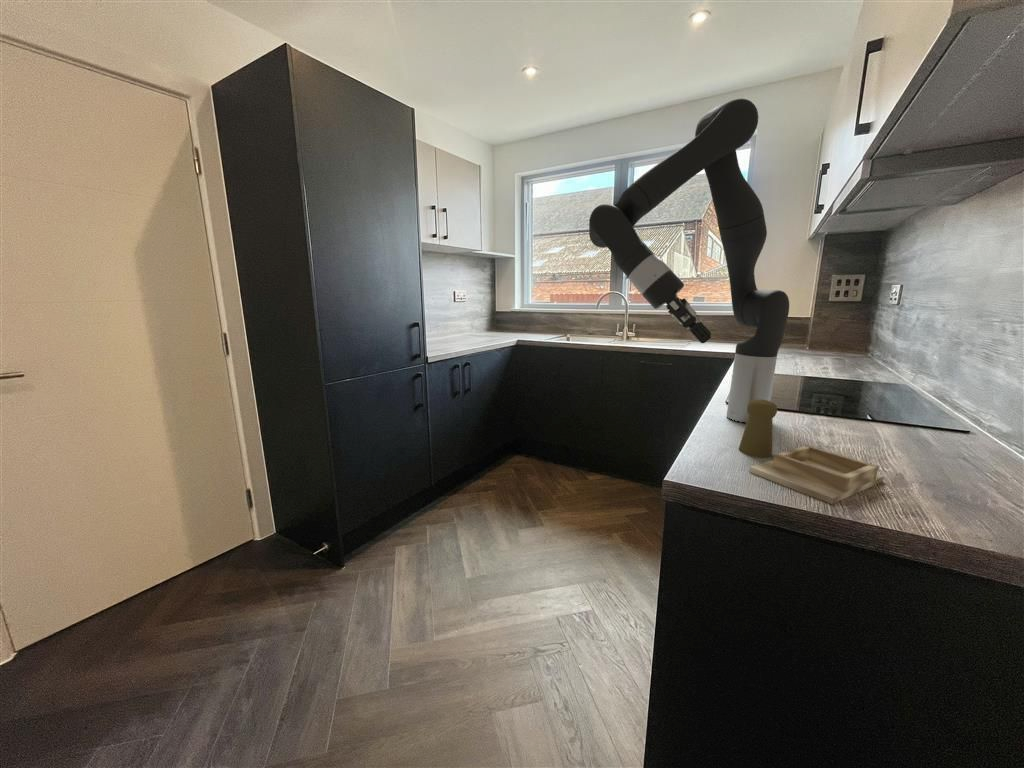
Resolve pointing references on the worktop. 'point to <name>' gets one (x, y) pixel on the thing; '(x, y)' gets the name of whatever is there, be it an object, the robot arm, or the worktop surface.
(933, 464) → the worktop surface
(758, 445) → the cork
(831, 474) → the stand
